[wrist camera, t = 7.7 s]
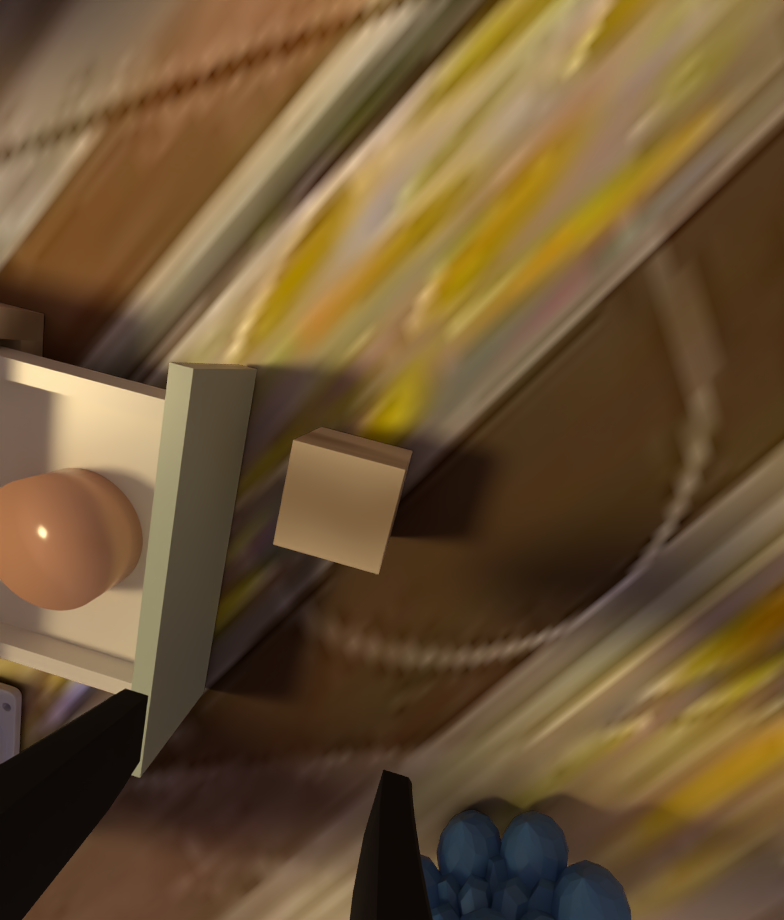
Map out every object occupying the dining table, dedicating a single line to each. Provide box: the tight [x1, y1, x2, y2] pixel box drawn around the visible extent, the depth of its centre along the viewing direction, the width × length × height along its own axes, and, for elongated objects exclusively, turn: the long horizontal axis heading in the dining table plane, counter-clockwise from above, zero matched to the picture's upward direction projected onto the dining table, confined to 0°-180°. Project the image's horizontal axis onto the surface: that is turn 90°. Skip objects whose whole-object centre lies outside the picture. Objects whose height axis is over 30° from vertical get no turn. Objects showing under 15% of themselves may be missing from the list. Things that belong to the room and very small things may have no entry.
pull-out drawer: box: [0, 346, 257, 778], centre depth 17 cm, size 16×10×5 cm, turn 166°
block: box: [273, 427, 413, 574], centre depth 17 cm, size 4×4×4 cm
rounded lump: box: [0, 468, 143, 611], centre depth 17 cm, size 5×5×2 cm
